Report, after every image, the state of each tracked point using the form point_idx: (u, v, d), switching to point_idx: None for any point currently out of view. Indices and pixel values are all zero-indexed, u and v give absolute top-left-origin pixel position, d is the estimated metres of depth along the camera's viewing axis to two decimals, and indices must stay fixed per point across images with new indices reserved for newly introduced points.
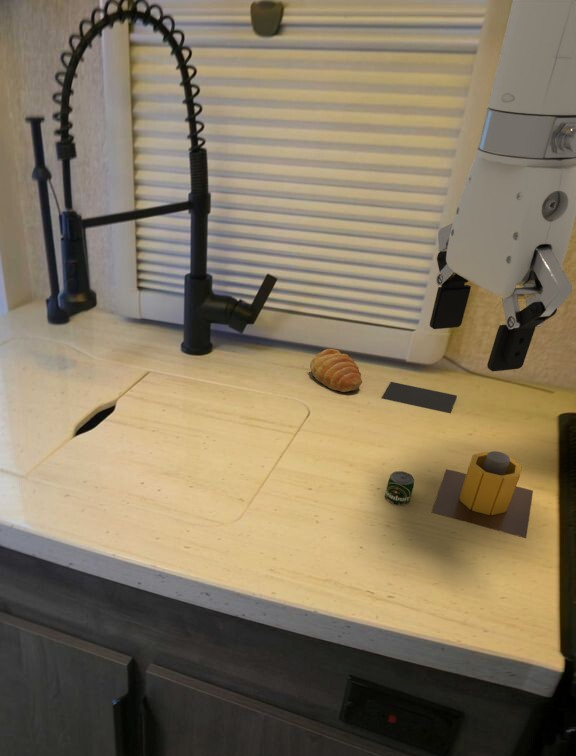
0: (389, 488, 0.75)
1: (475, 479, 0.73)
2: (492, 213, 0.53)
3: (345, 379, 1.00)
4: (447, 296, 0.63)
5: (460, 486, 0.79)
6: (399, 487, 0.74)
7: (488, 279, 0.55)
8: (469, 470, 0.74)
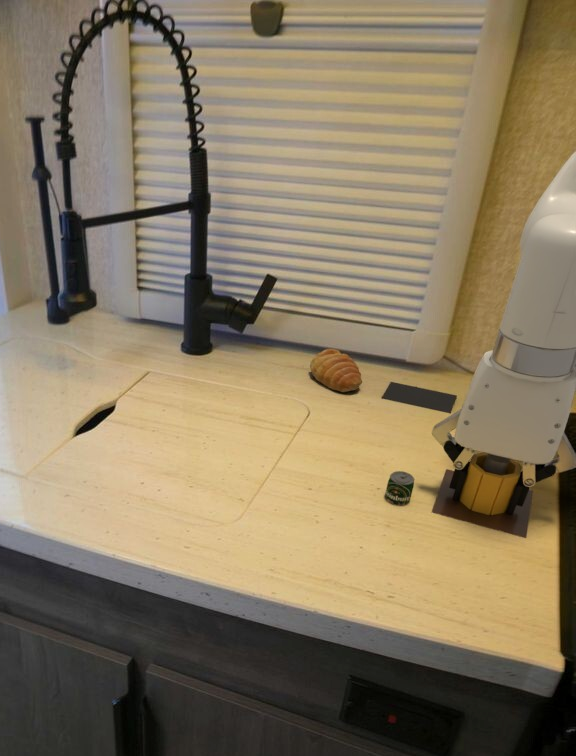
0: (389, 488, 0.75)
1: (475, 479, 0.73)
2: (527, 411, 0.66)
3: (345, 379, 1.00)
4: (466, 475, 0.75)
5: None
6: (399, 487, 0.74)
7: (526, 454, 0.69)
8: (469, 470, 0.74)
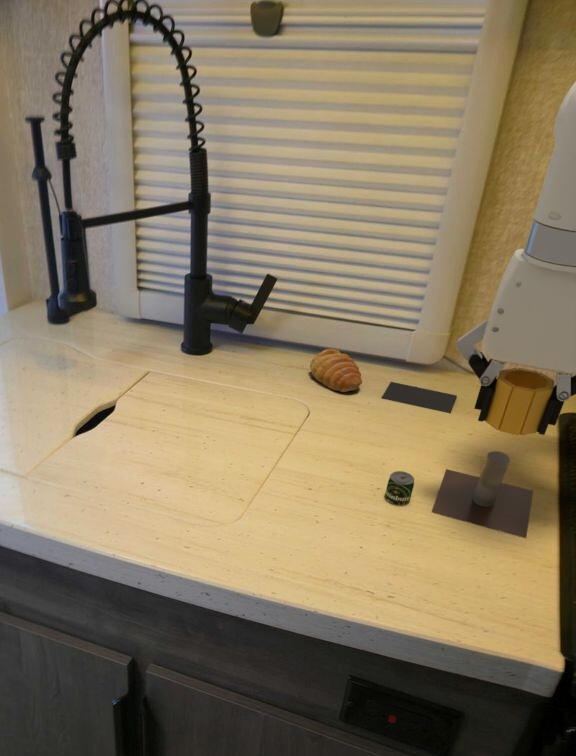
0: (389, 488, 0.75)
1: (504, 395, 0.67)
2: (563, 311, 0.60)
3: (345, 379, 1.00)
4: None
5: (460, 486, 0.79)
6: (399, 487, 0.74)
7: (561, 362, 0.63)
8: (497, 386, 0.68)
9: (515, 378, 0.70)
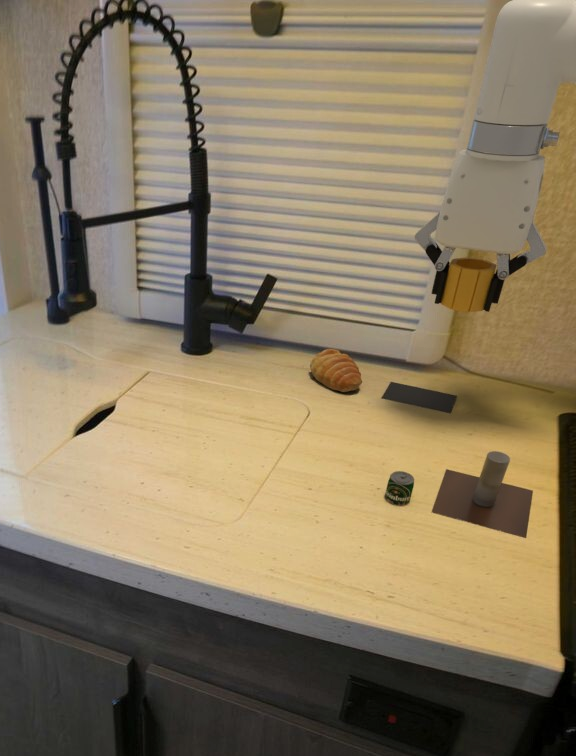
0: (389, 488, 0.75)
1: (455, 277, 0.80)
2: (499, 197, 0.74)
3: (345, 379, 1.00)
4: None
5: (460, 486, 0.79)
6: (399, 487, 0.74)
7: (499, 243, 0.76)
8: (449, 270, 0.81)
9: (465, 266, 0.83)
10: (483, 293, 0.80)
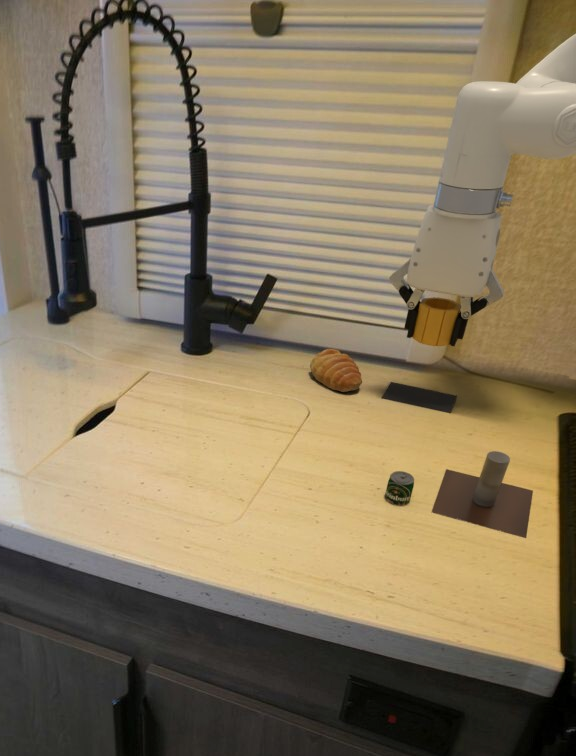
0: (389, 488, 0.75)
1: (424, 315, 0.90)
2: (461, 248, 0.84)
3: (345, 379, 1.00)
4: (417, 314, 0.92)
5: (460, 486, 0.79)
6: (399, 487, 0.74)
7: (462, 288, 0.86)
8: (419, 309, 0.91)
9: (434, 305, 0.93)
10: (449, 330, 0.90)
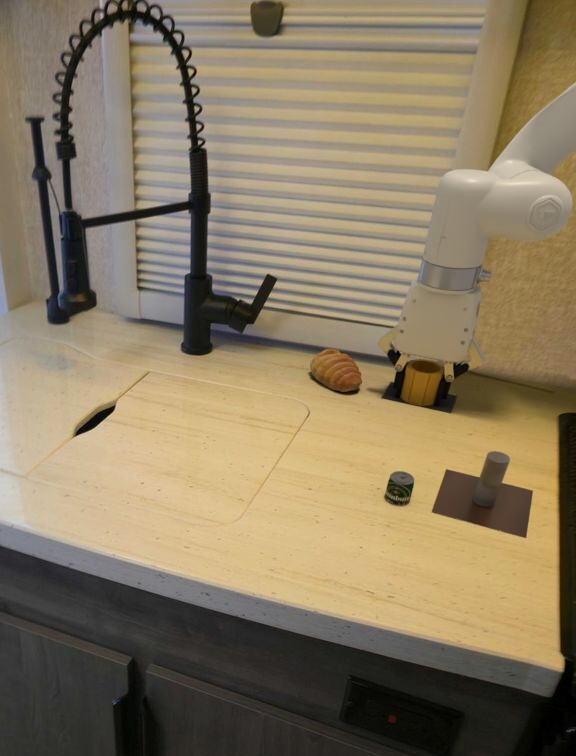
0: (389, 488, 0.75)
1: (410, 377, 0.96)
2: (444, 319, 0.89)
3: (345, 379, 1.00)
4: None
5: (460, 486, 0.79)
6: (399, 487, 0.74)
7: (445, 354, 0.92)
8: (405, 371, 0.97)
9: (420, 366, 0.98)
10: (433, 391, 0.96)
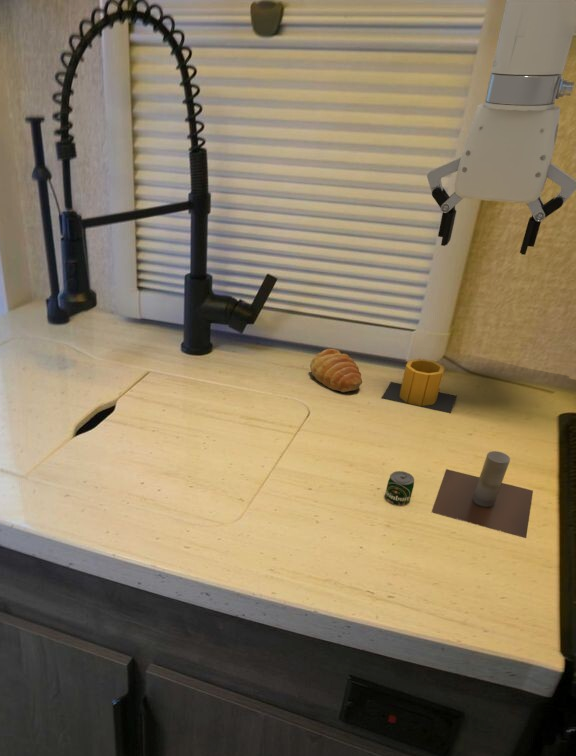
0: (389, 488, 0.75)
1: (409, 377, 0.96)
2: (516, 147, 0.77)
3: (345, 379, 1.00)
4: (452, 218, 0.85)
5: (460, 486, 0.79)
6: (399, 487, 0.74)
7: (516, 193, 0.80)
8: (405, 371, 0.97)
9: (419, 366, 0.98)
10: (433, 391, 0.96)
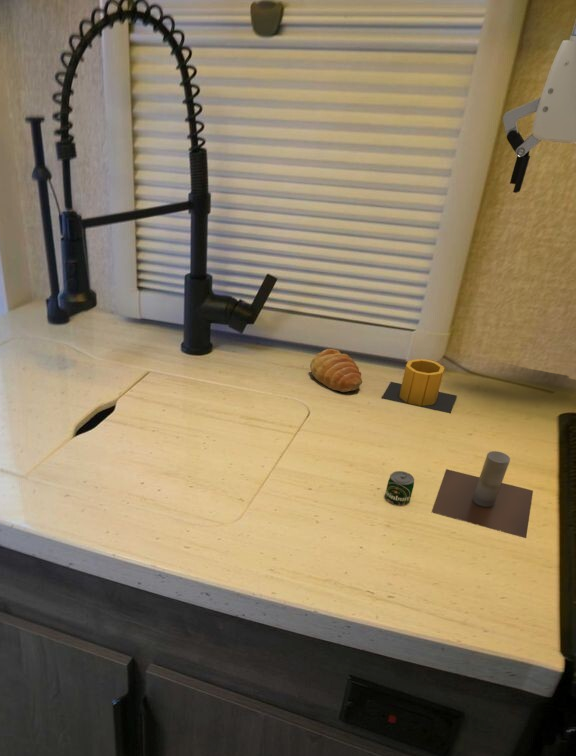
0: (389, 488, 0.75)
1: (409, 377, 0.96)
2: None
3: (345, 379, 1.00)
4: (527, 163, 0.82)
5: (460, 486, 0.79)
6: (399, 487, 0.74)
7: None
8: (405, 371, 0.97)
9: (419, 366, 0.98)
10: (433, 391, 0.96)
